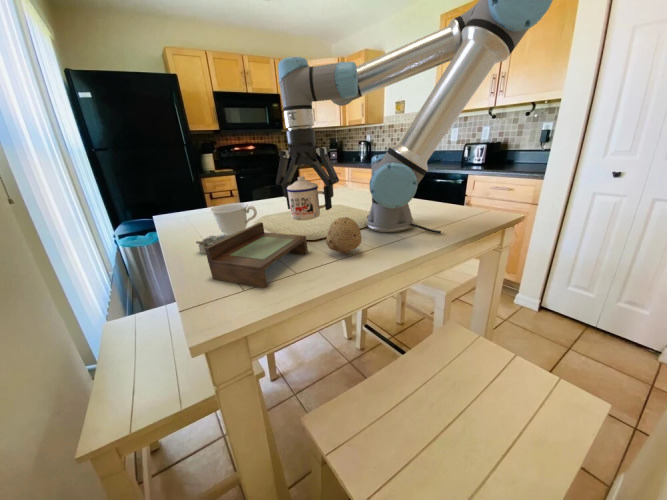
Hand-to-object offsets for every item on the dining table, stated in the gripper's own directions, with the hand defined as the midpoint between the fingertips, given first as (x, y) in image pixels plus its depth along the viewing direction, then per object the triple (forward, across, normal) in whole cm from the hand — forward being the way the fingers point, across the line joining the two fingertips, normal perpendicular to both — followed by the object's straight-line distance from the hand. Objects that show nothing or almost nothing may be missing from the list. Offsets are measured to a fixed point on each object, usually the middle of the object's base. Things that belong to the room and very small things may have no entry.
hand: (309, 208), depth 80 cm
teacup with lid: (+3, 0, 0) cm, 3 cm away
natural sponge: (+11, +14, -7) cm, 19 cm away
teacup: (+10, -28, -1) cm, 30 cm away
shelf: (+10, -4, -19) cm, 22 cm away
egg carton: (+10, -26, -13) cm, 30 cm away
